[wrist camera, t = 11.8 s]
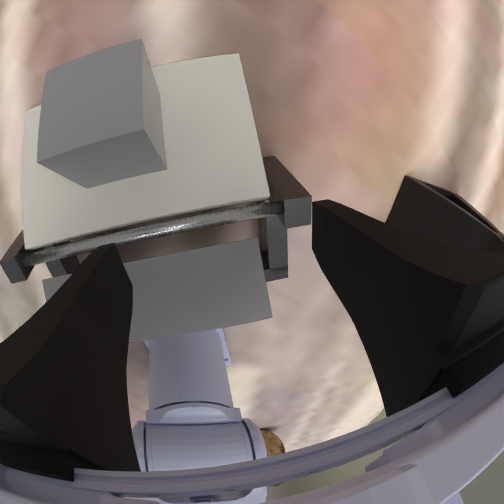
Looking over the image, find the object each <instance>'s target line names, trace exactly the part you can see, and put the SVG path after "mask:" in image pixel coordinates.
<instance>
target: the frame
mask: <svg viewBox="0 0 504 504" xmlns="http://www.w3.org/2000/svg"><path fill="white" fill-rule="evenodd" d="M262 159H263V164H264V169H265V174H266V178H267V183H268V188H269V193H270V196H269V198H268V199H267V200H261V201H258V204H257V205H251V206H245V207H239V208H234V209H228V210H222V211H217V212H212V213H206V214H201V215H196V216H190V217H185V218H180V219H175V220H170V221H165V222H161V223H156V224H151V225H146V226H142V227H137V228H132V229H128V230H123V231H119V232H115V233H110V234H106V235H102V236H97V237H93V238H89V239H85V240H81V241H77V242H73V243H69V240H68V241H64V242H60V243H56V244H53V245H49V246H45V247H42V248H38V249H25V243H24V233H23V230H22V231H21V233H20V234H19V235H18V237H17V238H16V239H15V241H14V242H13V244H12V245H11V246H10V248H9V249H8V251H7V252H6V253H5V255H4V256H3V258H2V259H1V261H0V264H1V266H2V268H3V270H4V271H5V273H6V275H7V277H8V278H9V280H10V282H11V283H16V282H21V281H25V280H27V279H28V277H29V275H30V273H31V271H32V269H33V267H34V266H35V265H36V264H40V263H46V265H47V267H48V269H49V271H50V273H51V274H52V276H53V278H54V277H58V276H63V275H68V274H73V272H74V271H75V270H76V269H77V268H78V267H79V266H80V264H79V262H78V260H77V258H76V256H75V255H78V254H83V253H87V252H92V251H94V250H95V249H96V248H98V247H99V246H101V245H105V244H109V243H115V246H119V245H123V244H128V243H133V242H138V241H142V240H147V239H152V238H157V237H162V236H167V235H172V234H177V233H182V232H187V231H192V230H197V229H203V228H208V227H213V226H219V225H224V224H229V223H235V222H240V221H246V220H252V219H257V218H260V229H261V241H262V251H260V254H261V259H262V264H263V270H264V275H265V280H266V282H268V281H273V280H278V279H283V278H287V277H288V251H287V228H293V227H298V226H304V225H310V224H311V204H312V196H311V195H310V194H309V193H308V192H307V190H306V189H305V188H304V187H303V186H302V185H301V184H300V183H299V182H298V181H297V180H296V178H295V177H294V176H293V175H292V174H291V173H290V172H289V171H288V170H287V169H286V168H285V167H284V166H283V165H282V163H281V162H280V161H279V160H278V159H277V158H276V157H275V156H272V157H264V158H262Z"/></svg>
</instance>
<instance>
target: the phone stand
mask: <svg viewBox="0 0 504 504" xmlns="http://www.w3.org/2000/svg"><path fill="white" fill-rule="evenodd" d="M387 224H388V225H391V226H393V227H396V228H398V229H401V230H403V231H406V232H409V233H412V234H415V235H418V236H421V237H424V238H427V239H431V240H434V241H438V242H442V243H446V244H449V245H454V246H458V247H463V248H468V249H474V250H480V251H487V252H497V253H504V235H503V234H502V233H501V232H500V231H499V230H498V229H497V228H496V227H495V226H494V225H493V224H492V223H491V222H490V221H488V220H487V219H486V218H485V217H484V216H483V215H482V214H481V213H479V212H478V211H477V210H476V209H475V208H474V207H473V206H471V205H470V204H469V203H468V202H467V201H465V200H464V199H463V198H462V197H460V196H459V195H457V194H455V193H452V192H450V191H447V190H445V189H442V188H440V187H437V186H434V185H432V184H429V183H426V182H423V181H421V180H418V179H415V178H412V177H409V176H406V178H405V180H404V183H403V185H402V188H401V191H400V193H399V196H398V198H397V200H396V203H395V205H394V208H393V210H392V212H391V215H390V217H389V219H388V222H387Z"/></svg>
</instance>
